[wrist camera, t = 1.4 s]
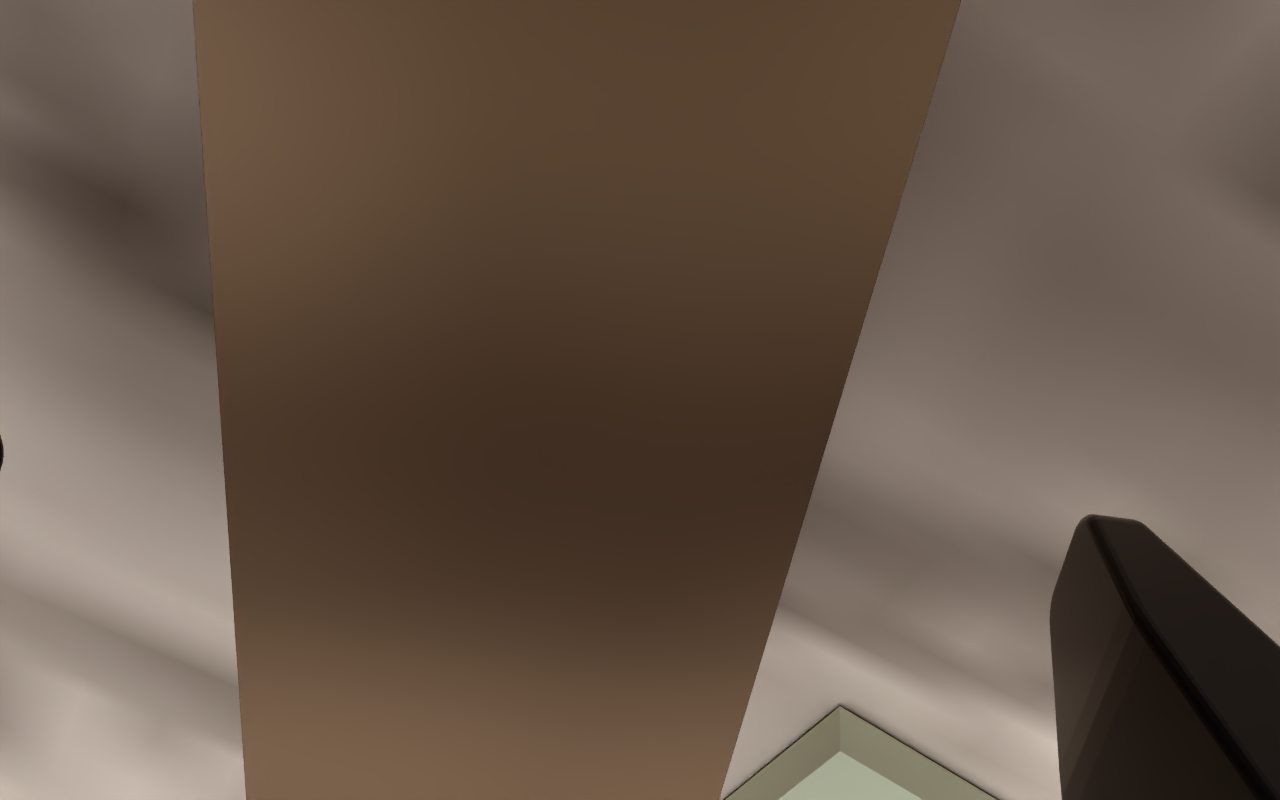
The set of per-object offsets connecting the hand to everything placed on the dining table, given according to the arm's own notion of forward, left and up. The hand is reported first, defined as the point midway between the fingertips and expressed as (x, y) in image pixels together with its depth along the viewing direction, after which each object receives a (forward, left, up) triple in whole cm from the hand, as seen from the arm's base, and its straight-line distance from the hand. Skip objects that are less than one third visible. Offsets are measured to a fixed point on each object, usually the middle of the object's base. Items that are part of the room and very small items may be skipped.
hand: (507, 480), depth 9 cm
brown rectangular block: (0, 0, -5) cm, 5 cm away
